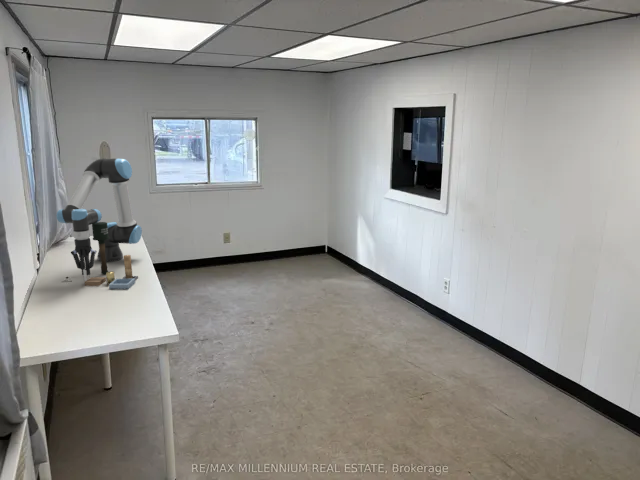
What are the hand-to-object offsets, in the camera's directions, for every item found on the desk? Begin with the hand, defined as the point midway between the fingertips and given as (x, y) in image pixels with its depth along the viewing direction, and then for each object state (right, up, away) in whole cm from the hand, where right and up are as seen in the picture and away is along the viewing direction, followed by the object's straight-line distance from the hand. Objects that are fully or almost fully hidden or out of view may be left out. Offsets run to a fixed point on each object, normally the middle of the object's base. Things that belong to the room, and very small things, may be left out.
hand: (86, 280), depth 259 cm
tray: (+21, -3, -4) cm, 22 cm away
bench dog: (+13, -1, +1) cm, 13 cm away
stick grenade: (+3, +2, +16) cm, 16 cm away
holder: (+21, 0, +6) cm, 22 cm away
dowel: (+21, 0, +6) cm, 22 cm away
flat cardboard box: (+5, -2, 0) cm, 5 cm away
